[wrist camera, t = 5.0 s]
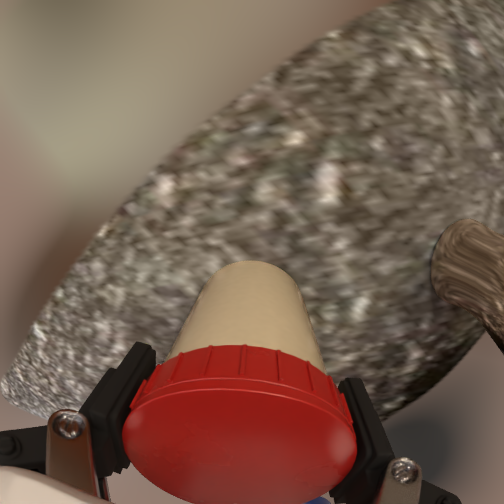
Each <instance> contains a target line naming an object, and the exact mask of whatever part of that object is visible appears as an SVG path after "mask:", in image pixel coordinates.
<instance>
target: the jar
mask: <svg viewBox="0 0 504 504" xmlns="http://www.w3.org/2000/svg"><path fill="white" fill-rule="evenodd" d="M243 344H247V345H248V346H257V347H264V348H269V349H273V350H277V349H278V350H281V352H284V353H287V354H290V355H293V356H296V357H298V358H300V359H302V360H305V361H307V360H308V361H310V363H311V364H312V365H313V366H315V367H317V368H318V369H319V370H321V371H322V372H323V373H324V374H325V375H327V371H326V368H325V365H324V362H323V359H322V355H321V352H320V349H319V346H318V343H317V339H316V336H315V333H314V330H313V327H312V324H311V321H310V318H309V315H308V312H307V309H306V306H305V303H304V300H303V297H302V294H301V291H300V289H299V287H298V286H297V284H296V283H295V281H294V280H293V279H292V278H291V277H290V276H289V275H288V274H287V273H286V272H284V271H283V270H281V269H280V268H278V267H276V266H274V265H271V264H269V263H265V262H261V261H240V262H236V263H232V264H230V265H227V266H225V267H223V268H221V269H220V270H218V271H217V272H216V273H214V274H213V275H212V276H211V277H210V278H209V279H208V281H207V282H206V284H205V285H204V287H203V289H202V291H201V293H200V295H199V296H198V298H197V300H196V302H195V304H194V306H193V308H192V310H191V312H190V313H189V315H188V317H187V319H186V321H185V323H184V325H183V327H182V329H181V331H180V333H179V335H178V336H177V338H176V340H175V342H174V344H173V346H172V348H171V350H170V352H169V354H168V356H167V358H166V360H165V362H166V361H168V360H169V359H171V358H173V357H175V356H178V354H179V353H180V352H182V353H185V352H188V351H191V350H195V349H199V348H204V347H208V346H209V345H213V346H220V345H243ZM165 362H164V363H165ZM327 376H328V375H327Z"/></svg>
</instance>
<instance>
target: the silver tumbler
mask: <svg viewBox="0 0 504 504" xmlns="http://www.w3.org/2000/svg"><path fill="white" fill-rule="evenodd" d="M431 281H432V285H433V288H434V290H435V292H436V294H437V295H438V296H439V297H440V298H441V299H442V300H443V301H445V302H447V303H449V304H452V305H455V306H458V307H460V308H462V309H464V310H466V311H468V312H469V313H470V314H472V315H473V316H474V317H475V318H476V319H477V320H478V321H479V322H480V323H481V325H482V326H483V327H484V328H485V330H486V331H487V332H488V334H489V335H490V336H491V338H492V339H493V340H494V342H495V343H496V345H497V346H498V348H499V349H500V350H501V352H502V353H503V354H504V235H502V234H499V233H497V232H495V231H493V230H491V229H490V228H488V227H487V226H485V225H484V224H482V223H480V222H479V221H477V220H474V219H461V220H459V221H456V222H455V223H453V224H452V225H450V226H449V227H448V228H447V229H446V230H445V231H444V233H443V234H442V235H441V237H440V239H439V240H438V242H437V244H436V247H435V249H434V252H433V256H432V260H431Z"/></svg>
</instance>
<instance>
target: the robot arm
mask: <svg viewBox="0 0 504 504" xmlns="http://www.w3.org/2000/svg"><path fill="white" fill-rule="evenodd" d="M155 368H156V351H155V350H153V349H152V347H151V345H148V344H145V343H141V342H136V343H135V344H134V345H133V347H132V348H131V350H130V351H129V352H128V354H127V355H126V357H125V358H124V359H123V361H122V362H121V364H120V365H119V367H118V368H117V369H114V368H109V369H108V371H107V372H106V373H105V375H104V376H103V377H102V379H101V380H100V382H99V383H98V384H97V386H96V387H95V389H94V390H93V391H92V393H91V394H90V396H89V397H88V398H87V400H86V401H85V403H84V404H83V406H82V407H81V409H80V410H79V411H75V410H71V409H62V410H59V411H56V412H55V413H53V414H52V415H51V417H50V418H49V420H48V425H46V426H39V427H32V428H25V429H17V430H8V431H1V432H0V504H114V503H112V502H111V499H110V494H109V489H108V484H107V478H106V477H107V476H111V475H112V473H113V472H116V473H119V474H121V471H122V468H126V469H127V468H128V467H129V465H130V462H131V461H130V460H129V458H128V456H127V454H126V452H125V449H124V444H123V439H122V429H123V425H124V423H125V420H126V418H127V416H128V414H129V412H130V411H131V408H130V407H129V406H130V404H131V402H132V401H133V399H134V397H135V395H136V393H137V391H138V390H139V388H140V386H141V384H142V382H143V380H144V379H145V380H147V379H148V378H149V376H150V375H151V374H152V372H154V370H155ZM338 390H339V392H340V393H341V394H342V393H343V394H344V397H345V399H346V402H347V405H348V408H349V411H350V414H351V417H352V420H353V423H352V426H353V429H354V432H355V435H356V443H357V455H356V460H355V463H354V465H353V467H352V469H351V470H350V471H349V473H348V474H347V475H346V477H345V478H344V479H343V480H342V481H341V482H340V483H339V484H338V485H337V486H335V487H334V488H333V489H331V490H330V491H329V494H330V497H334V502H335V504H340V503H346V504H462V503H461V501H460V499H459V498H458V497H457V496H456V495H454V494H452V493H450V492H447V491H446V490H443V489H441V488H439V487H437V486H435V485H433V484H431V483H428V482H426V481H424V480H422V470H421V468H420V466H419V465H418V464H417V463H416V462H415V461H413V460H412V459H409V458H406V457H399V458H395V456H394V453H393V451H392V448H391V446H390V443H389V441H388V438H387V436H386V434H385V431H384V428H383V426H382V424H381V421H380V419H379V417H378V414H377V412H376V411H375V410H374V407H373V405H372V403H371V400H370V398H369V396H368V393H367V391H366V389H365V386H364V384H363V382H362V380H361V379H360V378H346V379H345V380H344V381H341V382H340V384H339V386H338Z"/></svg>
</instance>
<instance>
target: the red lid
mask: <svg viewBox="0 0 504 504" xmlns="http://www.w3.org/2000/svg"><path fill="white" fill-rule="evenodd" d="M129 407H130V408H131V411H130V412H129V414H128V416H127V418H126V420H125V423H124V425H123V429H122V439H123V444H124V449H125V452H126V454H127V456H128V458H129V460H130V461H131V463H132V464H133V465H134V467H135V468H136V469H137V470H138V471H139V472H140V473H141V474H142V475H143V476H144V477H145V478H147V479H148V480H149V481H150V482H152V483H153V484H154V485H156V486H157V487H159V488H160V489H162V490H164V491H165V492H168V493H169V494H171V495H173V496H175V497H177V498H180V499H182V500H185V501H188V502H190V503H194V504H303V503H306V502H308V501H311V500H313V499H316V498H318V497H319V496H321V495H323V494H325V493H327V492H328V491H330V490H331V489H333V488H334V487H335V486H337V485H338V484H339V483H340V482H341V481H342V480H343V479H344V478H345V477H346V475H347V474H348V473H349V471H350V470H351V469H352V467H353V465H354V463H355V460H356V455H357V443H356V435H355V432H354V429H353V426H352V423H353V420H352V417H351V414H350V411H349V408H348V405H347V402H346V399H345V397H344V394H343V393H342V394H341V393H340V392H339V390H338V388H337V387H336V385H335V384H334V383H333V380H332V377H331V376H327V375H325V374H324V373H323V372H322V371H321V370H319V369H318V368H317V367H315V366H313V365H312V364H311V363H310V361H308V360H307V361H305V360H302V359H300V358H298V357H296V356H293V355H290V354H287V353H284V352H281V350H278V349H277V350H273V349H269V348H264V347H257V346H248V345H247V344H243V345H220V346H213V345H209V346H208V347H204V348H199V349H195V350H191V351H188V352H185V353H182V352H180V353H179V354H178V356H175V357H173V358H171V359H169V360H168V361H166V362H165V363H163V364H162V365H160V364H158V365H157V366H156V368H155V370H154V372H152V374H151V375H150V376H149V378H148V379H147V380H145V379H144V380H143V382H142V384H141V386H140V388H139V390H138V391H137V393H136V395H135V397H134V399H133V401H132V402H131V404H130V406H129Z"/></svg>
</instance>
